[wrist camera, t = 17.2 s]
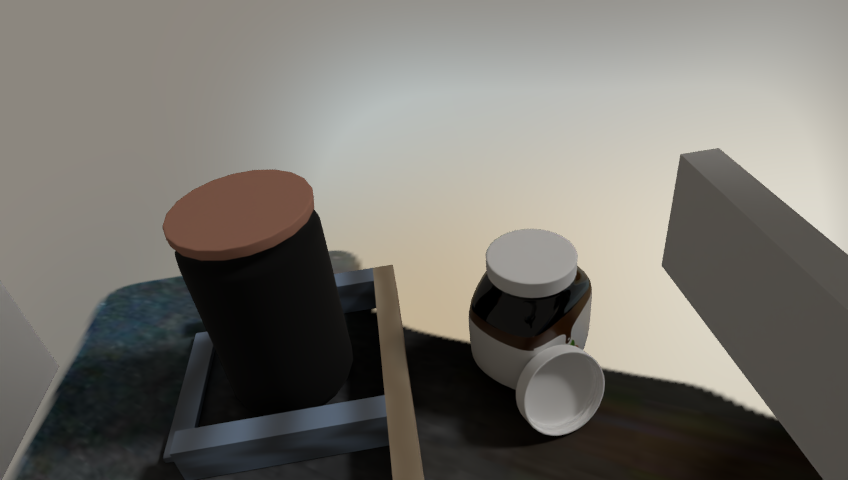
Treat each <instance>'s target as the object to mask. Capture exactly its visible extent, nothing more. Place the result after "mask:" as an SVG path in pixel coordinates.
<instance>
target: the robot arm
mask: <svg viewBox="0 0 848 480" xmlns="http://www.w3.org/2000/svg"><path fill="white" fill-rule="evenodd" d="M662 267H663V268H664V269H665V271H666V272H667V273H668V275H669V276H670V277H671V279H672V280H673V281H674V283H675V284H676V285H677V286H678V288H679V289H680V290H681V292H682V293H683V294H684V296H685V297H686V298H687V300H688V301H689V302H690V304H691V305H692V306H693V308H694V309H695V310H696V312H697V313H698V314H699V316H700V317H701V318H702V320H703V321H704V322H705V324H706V325H707V326H708V328H709V329H710V330H711V331H712V333H713V334H714V335H715V337H716V338H717V339H718V341H719V342H720V343H721V345H722V346H723V347H724V349H725V350H726V351H727V353H728V354H729V355H730V357H731V358H732V359H733V361H734V362H735V363H736V365H737V366H738V367H739V369H740V370H741V371H742V373H743V374H744V375H745V377H746V378H747V379H748V381H749V382H750V383H751V384H752V386H753V387H754V388H755V390H756V391H757V392H758V394H759V395H760V396H761V398H762V399H763V400H764V402H765V403H766V404H767V406H768V407H769V408H770V410H771V411H772V412H773V414H774V415H775V416H776V418H777V419H778V420H779V422H780V423H781V424H782V426H783V427H784V428H785V430H786V431H787V432H788V433H789V435H790V436H791V437H792V439H793V440H794V441H795V443H796V444H797V445H798V447H799V448H800V449H801V451H802V452H803V453H804V455H805V456H806V457H807V459H808V460H809V461H810V463H811V464H812V465H813V467H814V468H815V469H816V471H817V472H818V473H819V475H820V476H821V477H822V479H823V480H848V255H847V254H846V253H845V252H844V251H842V250H841V249H840V248H839V247H838V246H836V245H835V244H834V243H833V242H832V241H830V240H829V239H828V238H827V237H825V236H824V235H823V234H822V233H820V232H819V231H818V230H817V229H816V228H815V227H813V226H812V225H811V224H810V223H808V222H807V221H806V220H805V219H804V218H803V217H801V216H800V215H799V214H798V213H797V212H795V211H794V210H793V209H792V208H790V207H789V206H788V205H787V204H786V203H784V202H783V201H782V200H780V199H779V198H778V197H777V196H776V195H774V194H773V193H772V192H771V191H770V190H769V189H767V188H766V187H765V186H764V185H763V184H761V183H760V182H759V181H758V180H757V179H755V178H754V177H753V176H752V175H751V174H749V173H748V172H747V171H746V170H744V169H743V168H742V167H741V166H740V165H738V164H737V163H736V162H734V160H732V159H731V158H730V157H729V156H728V155H726V154H725V153H724V152H723V151H722V150H720V149H719V148H717V149H711V150H704V151H698V152H693V153H686V154H681V155H680V161H679V166H678V172H677V179H676V184H675V190H674V196H673V203H672V208H671V214H670V220H669V226H668V231H667V237H666V243H665V249H664V255H663V261H662ZM58 367H59V365H58V364H57V363H56V361H55V360H54V358H53V357H52V356H51V354H50V352H49V351H48V350H47V348H46V347H45V345H44V344H43V342H42V341H41V339H40V338H39V336H38V335H37V334H36V332H35V331H34V329H33V328H32V326H31V325H30V323H29V322H28V320H27V319H26V318H25V316H24V315H23V313H22V312H21V310H20V309H19V307H18V306H17V304H16V303H15V302H14V300H13V299H12V297H11V296H10V294H9V293H8V292H7V290H6V289H5V287H4V286H3V284H2V283H1V281H0V480H2V478H3V476H4V474H5V472H6V470H7V468H8V466H9V464H10V462H11V460H12V458H13V456H14V454H15V452H16V450H17V448H18V446H19V444H20V443H21V441H22V439H23V436H24V435H25V433H26V430H27V429H28V427H29V425H30V423H31V421H32V419H33V417H34V415H35V413H36V411H37V409H38V407H39V405H40V403H41V401H42V399H43V397H44V395H45V393H46V391H47V389H48V387H49V385H50V383H51V381H52V379H53V377H54V375H55V373H56V371H57V369H58Z"/></svg>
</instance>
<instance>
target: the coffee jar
mask: <svg viewBox="0 0 848 480" xmlns="http://www.w3.org/2000/svg"><path fill="white" fill-rule="evenodd" d="M313 198H314V197H313V190H312V187H311V186H310V185H309V184H308V183H307V181H306V180H305V179H304V178H302V177H300V176H298V175H296V174H293V173H291V172H286V171H280V170H252V171H247V172H241V173H236V174H231V175H228V176H225V177H222V178H219V179H216V180H213V181H211V182H209V183H206V184H204V185H202V186H200V187H198V188H196V189H194V190H192V191H191V192H190V193H188V194H187V195H185V196H184V197H183V198H181V199H180V200H178V201H177V202H176V204H175V205H174V206H173V207H172V208H171V209H170V210H169V212H168V213H167V214H166V217H165V221H164V223H163V230H164V234H165V237H166V240H167V241H168V243H169V245H170V246H171V247H172V248H173V249H175V250H176V251H175V257H176V260H177V263H178V266H179V269H180V272H181V274H182V276H183V278H184V281H185V283H186V285H187V287H188V290H189V292H190V294H191V296H192V299H193V301H194V303H195V305H196V308H197V310H198V312H199V314H200V317H201V319H202V321H203V323H204V326H205V328H206V330H207V332H208V335H209V337H210V339H211V341H212V344H213V346H214V348H215V350H216V352H217V355H218V357H219V359H220V361H221V364H222V366H223V368H224V370H225V373H226V375H227V377H228V379H229V382H230V384H231V386H232V388H233V391H234V393H235V395H236V397H237V399H238V400H239V401H240V402H241V403H242V404H244V405H245V406H246V407H247V408H248V409H249V410H251V411H254V412H256V413H259V414H262V415H264V416H267V415H273V414H278V413H284V412H290V411H296V410H301V409H307V408H313V407H319V406H323V405H324V404H326V403H327V402H328V401H329V400H331V399H332V398H333V397H334V396H335V395H336V394H337V393H338V391H339V390H340V388H341V387H342V386H343V384H344V383H345V381H346V380H347V378H348V376H349V372H350V369H351V366H352V362H353V353H352V345H351V341H350V337H349V333H348V329H347V325H346V321H345V317H344V313H343V309H342V305H341V301H340V297H339V293H338V289H337V285H336V281H335V277H334V273H333V269H332V265H331V261H330V257H329V253H328V249H327V245H326V241H325V237H324V233H323V229H322V225H321V221H320V217H319V216H318V214H317V213H316V211H315V210H314V199H313Z"/></svg>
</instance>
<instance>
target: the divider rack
mask: <svg viewBox="0 0 848 480" xmlns="http://www.w3.org/2000/svg"><path fill="white" fill-rule="evenodd" d="M334 277H335V281H336V285H337V289H338V293H339V297H340V301H341V305H342V309H343V313H349V312H355V311H361V310H367V309H373V308H377V318H378V329H379V340H380V350H381V361H382V371H383V382H384V392H385V395H382V396H376V397H371V398H365V399H359V400H353V401H348V402H342V403H336V404H330V405H325V406H319V407H313V408H307V409H301V410H296V411H290V412H284V413H278V414H273V415H267V416H261V417H255V418H250V419H244V420H238V421H232V422H226V423H221V424H215V425H209V426H203V427H198V425H199V420H200V416H201V411H202V407H203V402H204V398H205V393H206V389H207V384H208V380H209V375H210V370H211V366H212V361H213V357H214V352H215V348H214V346H213V344H212V341H211V339H210V337H209V335H208V332H201V333H196V336H195V339H194V343H193V347H192V351H191V354H190V358H189V362H188V366H187V369H186V373H185V377H184V381H183V384H182V388H181V392H180V396H179V399H178V403H177V407H176V411H175V414H174V418H173V422H172V426H171V429H170V433H169V437H168V441H167V444H166V448H165V452H164V456H163V460H164V461H165V463H169V462H174V463H175V464H176V466H177V468H178V469H179V471H180V473H181V474H182V476H183V478H184V479H185V480H197V479H203V478H208V477H214V476H219V475H225V474H231V473H236V472H242V471H248V470H253V469H259V468H265V467H270V466H276V465H282V464H287V463H293V462H298V461H304V460H310V459H315V458H321V457H327V456H332V455H338V454H344V453H349V452H355V451H361V450H366V449H372V448H377V447H383V446H389V445H390V456H391V466H392V477H393V480H424V474H423V467H422V460H421V453H420V446H419V439H418V432H417V425H416V418H415V411H414V404H413V397H412V390H411V383H410V376H409V369H408V362H407V355H406V348H405V341H404V334H403V327H402V321H401V314H400V307H399V300H398V293H397V287H396V281H395V276H394V269H393V265H388V266H382V267H376V268H370V269H363V270H357V271H351V272H345V273H339V274H334Z"/></svg>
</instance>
